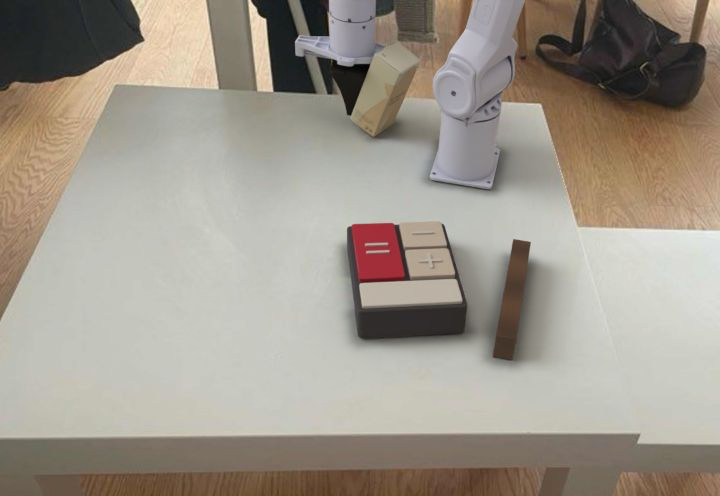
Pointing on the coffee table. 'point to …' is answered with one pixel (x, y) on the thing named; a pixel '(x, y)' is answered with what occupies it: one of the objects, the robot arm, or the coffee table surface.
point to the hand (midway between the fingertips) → (352, 112)
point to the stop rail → (512, 300)
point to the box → (384, 88)
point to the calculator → (404, 280)
